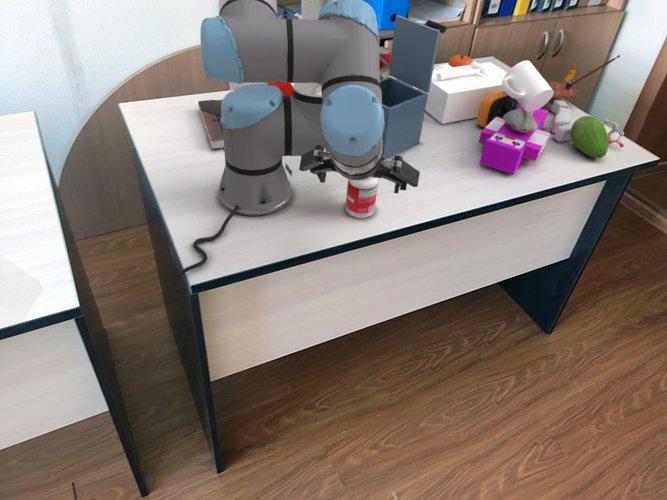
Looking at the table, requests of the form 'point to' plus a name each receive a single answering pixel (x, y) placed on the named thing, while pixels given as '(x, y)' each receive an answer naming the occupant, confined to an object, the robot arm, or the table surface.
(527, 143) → the toy
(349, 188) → the pill bottle
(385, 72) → the wall hook
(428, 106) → the tissue box
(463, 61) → the pumpkin
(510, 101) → the multimeter
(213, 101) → the picture frame
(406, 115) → the blue-grey hollow box
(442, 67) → the geometric ball
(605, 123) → the molecular model
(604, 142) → the avocado
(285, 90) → the apple
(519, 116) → the grey rock
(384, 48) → the beverage can
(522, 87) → the mug
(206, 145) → the table surface
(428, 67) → the lid
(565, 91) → the incense holder
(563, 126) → the grey segmented bar
